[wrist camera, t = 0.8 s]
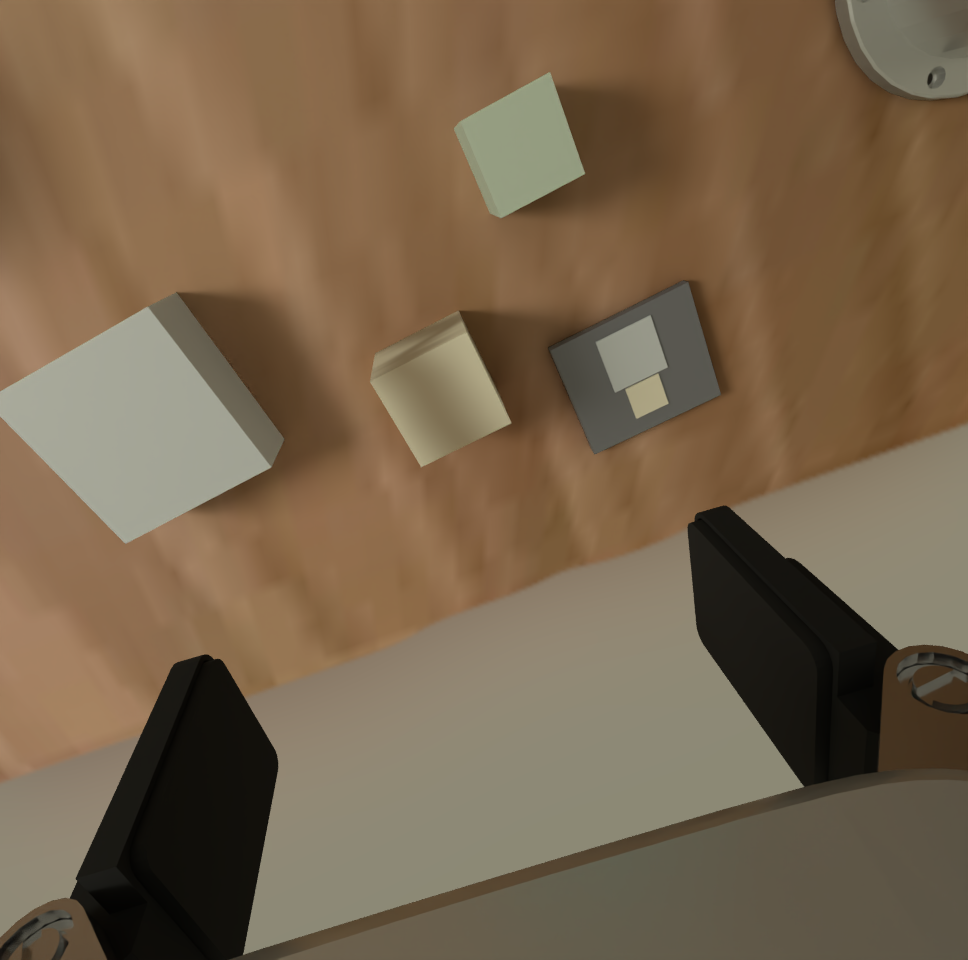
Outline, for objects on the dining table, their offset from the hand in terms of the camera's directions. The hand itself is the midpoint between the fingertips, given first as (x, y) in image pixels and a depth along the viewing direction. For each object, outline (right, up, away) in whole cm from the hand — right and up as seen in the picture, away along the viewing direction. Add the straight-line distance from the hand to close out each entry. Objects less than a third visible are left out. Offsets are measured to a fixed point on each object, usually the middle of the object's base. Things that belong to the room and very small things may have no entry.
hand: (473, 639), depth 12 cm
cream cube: (-2, +9, +21) cm, 23 cm away
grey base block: (-17, +7, +21) cm, 28 cm away
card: (+9, +9, +22) cm, 26 cm away
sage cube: (+1, +19, +17) cm, 25 cm away
